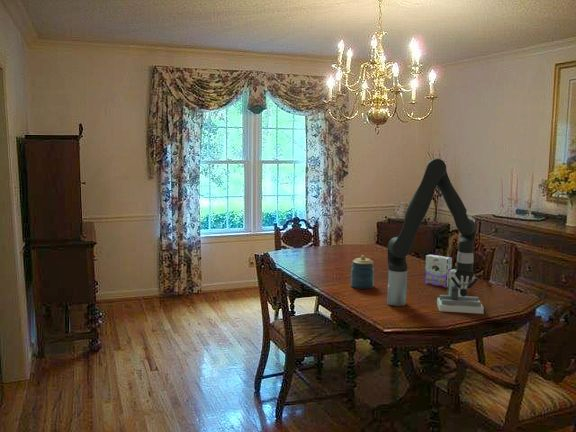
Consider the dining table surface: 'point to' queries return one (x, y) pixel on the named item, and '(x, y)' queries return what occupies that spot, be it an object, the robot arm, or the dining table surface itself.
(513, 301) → the dining table surface
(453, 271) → the syrup box
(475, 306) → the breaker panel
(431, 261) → the candy box
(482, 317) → the dining table surface
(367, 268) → the canister
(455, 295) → the breaker lever
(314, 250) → the dining table surface
